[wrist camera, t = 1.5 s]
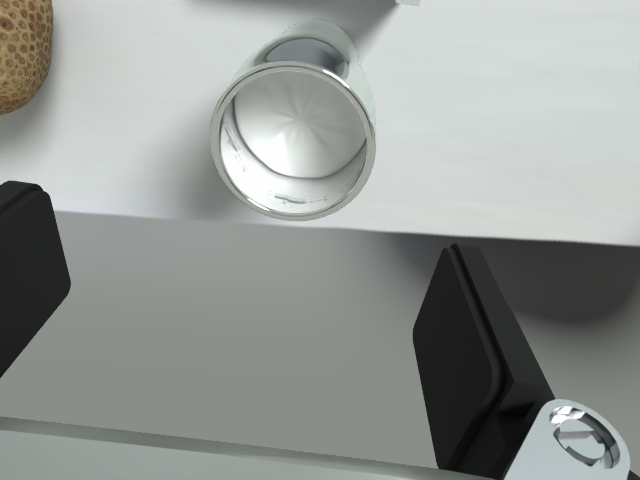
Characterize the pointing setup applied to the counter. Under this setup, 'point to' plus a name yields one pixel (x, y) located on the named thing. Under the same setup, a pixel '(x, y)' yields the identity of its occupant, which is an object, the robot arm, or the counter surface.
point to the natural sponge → (23, 50)
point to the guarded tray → (408, 2)
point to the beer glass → (297, 125)
